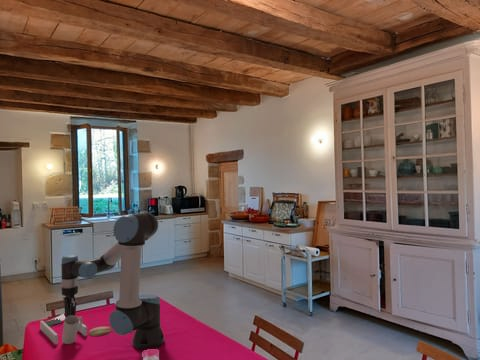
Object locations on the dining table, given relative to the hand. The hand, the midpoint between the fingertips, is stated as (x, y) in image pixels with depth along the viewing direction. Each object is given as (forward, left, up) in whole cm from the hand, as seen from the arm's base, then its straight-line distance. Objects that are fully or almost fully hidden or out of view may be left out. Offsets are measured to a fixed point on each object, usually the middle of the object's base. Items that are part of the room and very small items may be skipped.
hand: (70, 332), depth 190 cm
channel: (+11, 0, -3) cm, 12 cm away
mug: (-3, 0, -2) cm, 3 cm away
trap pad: (+29, 0, -3) cm, 29 cm away
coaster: (-2, -15, -3) cm, 15 cm away
